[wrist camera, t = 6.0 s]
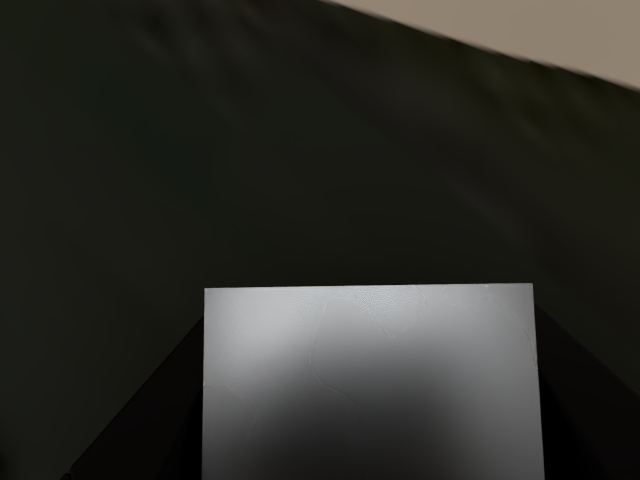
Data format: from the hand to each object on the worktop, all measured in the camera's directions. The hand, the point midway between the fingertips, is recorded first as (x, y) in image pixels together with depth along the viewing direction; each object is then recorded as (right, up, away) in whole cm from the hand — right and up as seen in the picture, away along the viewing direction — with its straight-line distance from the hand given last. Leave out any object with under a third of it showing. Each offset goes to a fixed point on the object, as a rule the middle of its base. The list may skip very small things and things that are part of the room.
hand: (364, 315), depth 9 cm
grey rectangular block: (+1, -2, +7) cm, 8 cm away
